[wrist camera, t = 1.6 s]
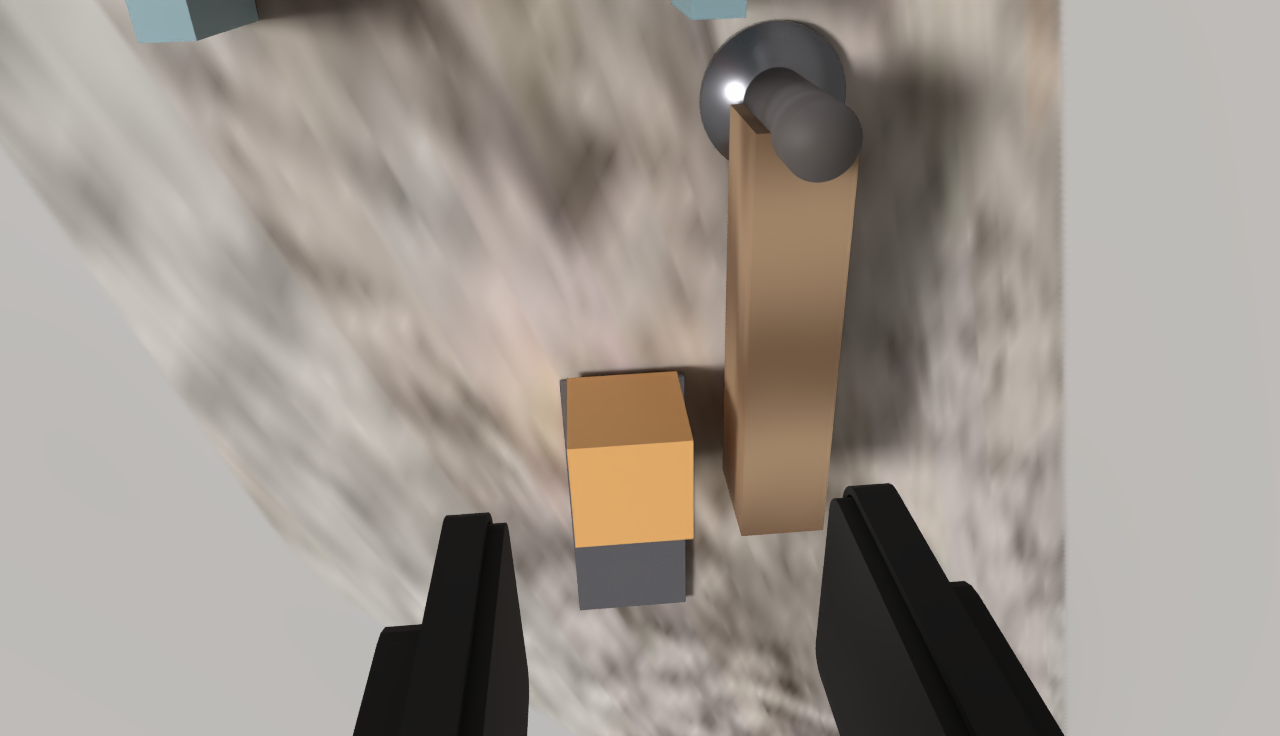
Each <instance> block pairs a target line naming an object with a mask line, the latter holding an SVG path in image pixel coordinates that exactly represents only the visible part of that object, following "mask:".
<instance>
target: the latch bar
mask: <svg viewBox="0 0 1280 736" xmlns="http://www.w3.org/2000/svg"><path fill="white" fill-rule="evenodd" d="M861 145H862V128H861V124H860V122H859V120H858V118H857V116H856V115H855V113H854V112H853V111H852V110H851V109H850V108H849V107H847V106H846V105H844V104H843V103H841V102H840V101H838V100H837V99H835V98H834V97H832V96H831V95H829V94H828V93H826V92H825V91H823V90H822V89H820V88H819V87H817V86H816V85H814V84H813V83H811V82H810V81H808V80H807V79H805V78H804V77H802V76H801V75H799V74H798V73H796V72H795V71H793V70H791V69H788V68H784V67H774V68H770V69H767V70H765V71H763V72H761V73H760V74H758V75H757V76H756V77H755V78H754V79H753V80H752V81H751V82H750V84H749V85H748V87H747V89H746V92H745V95H744V99H743V104H730V138H729V186H728V233H727V280H726V327H725V374H724V421H723V472H724V475H725V479H726V483H727V486H728V490H729V493H730V497H731V500H732V504H733V507H734V511H735V514H736V518H737V522H738V525H739V529H740V532H741V536H748V535H762V534H775V533H788V532H801V531H815V530H823V525H824V514H825V504H826V494H827V484H828V473H829V463H830V453H831V443H832V432H833V422H834V412H835V402H836V391H837V381H838V371H839V361H840V350H841V340H842V330H843V320H844V309H845V299H846V289H847V279H848V268H849V258H850V248H851V238H852V227H853V217H854V207H855V197H856V186H857V176H858V166H859V156H860V149H861Z"/></svg>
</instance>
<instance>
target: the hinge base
mask: <svg viewBox="0 0 1280 736" xmlns="http://www.w3.org/2000/svg"><path fill="white" fill-rule="evenodd" d="M774 67H784V68H788V69H791V70H793V71H795V72H796V73H798V74H799V75H801V76H802V77H804V78H805V79H807V80H808V81H810V82H811V83H813V84H814V85H816V86H817V87H819V88H820V89H822V90H823V91H825V92H826V93H828V94H829V95H831V96H832V97H834V98H835V99H837V100H838V101H840V102H841V103H843V104H845V97H846V84H845V76H844V72H843V67H842V65H841V62H840V60H839V57H838V56H837V54H836V52H835V50H834V49H833V48H832V46H831V45H830V44H829V42H828V41H827V40H825V39H824V38H823V37H822V36H821V35H820V34H818V33H817V32H816V31H814V30H812V29H810V28H808V27H807V26H804V25H802V24H799V23H796V22H792V21H787V20H769V21H763V22H759V23H755V24H753V25H750V26H748V27H745V28H744V29H742V30H740V31H738V32H737V33H735V34H734V35H733V36H731V37H730V38H729V39H728V40H727V41H726V42H725V43H724V44H723V45H722V46H721V47H720V48H719V49H718V51H717V52H716V53H715V54H714V56H713V58H712V59H711V61H710V63H709V65H708V67H707V69H706V71H705V74H704V77H703V80H702V84H701V90H700V101H699V102H700V113H701V119H702V122H703V125H704V129H705V131H706V133H707V135H708V137H709V139H710V140H711V142H712V143H713V145H714V146H715V148H716V149H717V150H718V151H719V152H720V153H721V154H722V155H723V156H724V157H725V158H726V159H727V160H729V138H730V104H743V99H744V95H745V92H746V89H747V87H748V85H749V84H750V82H751V81H752V80H753V79H754V78H755V77H756V76H757V75H758V74H760V73H761V72H763V71H765V70H767V69H770V68H774Z"/></svg>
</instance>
